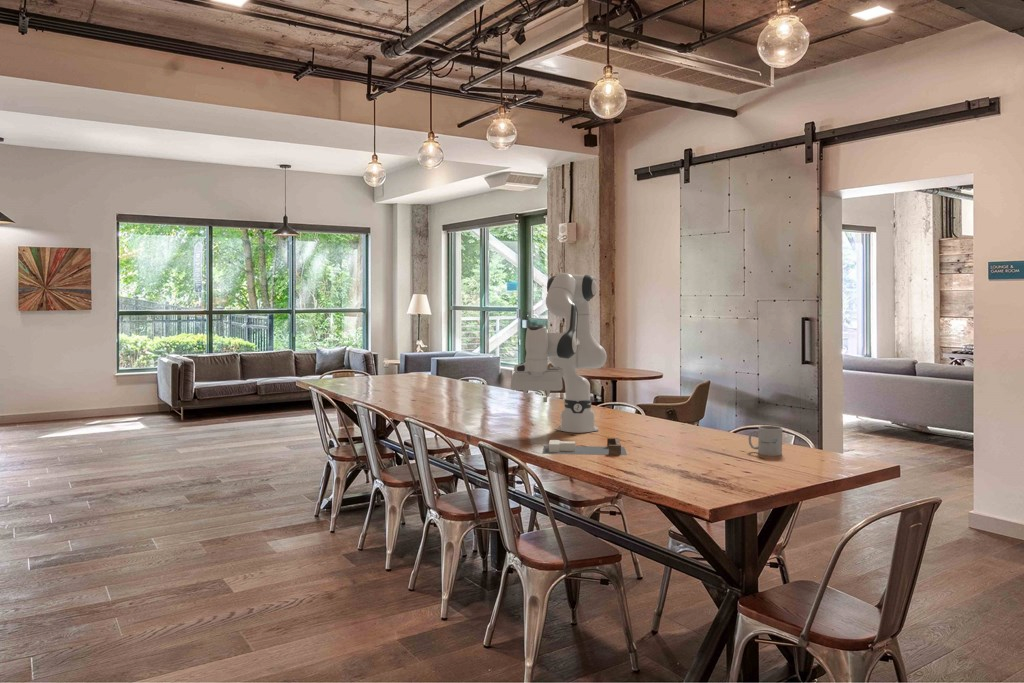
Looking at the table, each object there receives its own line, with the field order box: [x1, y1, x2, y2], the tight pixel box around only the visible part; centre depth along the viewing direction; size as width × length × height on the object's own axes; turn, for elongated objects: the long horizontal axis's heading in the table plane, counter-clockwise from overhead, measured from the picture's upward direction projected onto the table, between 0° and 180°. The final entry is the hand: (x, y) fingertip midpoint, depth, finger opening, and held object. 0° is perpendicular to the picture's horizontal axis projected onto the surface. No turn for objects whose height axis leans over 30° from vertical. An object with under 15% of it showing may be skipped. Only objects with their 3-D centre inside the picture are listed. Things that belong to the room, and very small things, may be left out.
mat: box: [541, 445, 628, 456], centre depth 292 cm, size 16×32×1 cm, turn 85°
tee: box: [548, 439, 576, 452], centre depth 292 cm, size 9×10×3 cm
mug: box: [748, 425, 783, 457], centre depth 288 cm, size 12×9×10 cm
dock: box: [606, 437, 622, 456], centre depth 290 cm, size 16×4×4 cm, turn 175°
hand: (536, 402), depth 292 cm, fingers open, 5 cm apart
